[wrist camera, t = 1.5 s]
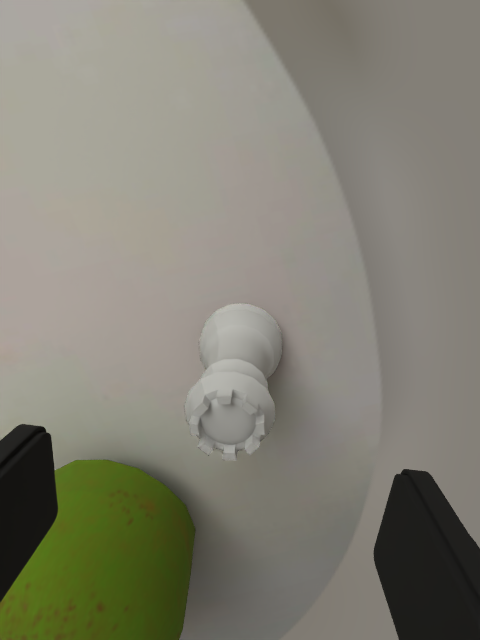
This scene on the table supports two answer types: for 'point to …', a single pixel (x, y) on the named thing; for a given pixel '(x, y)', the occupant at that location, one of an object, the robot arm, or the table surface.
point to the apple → (105, 561)
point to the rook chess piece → (234, 380)
